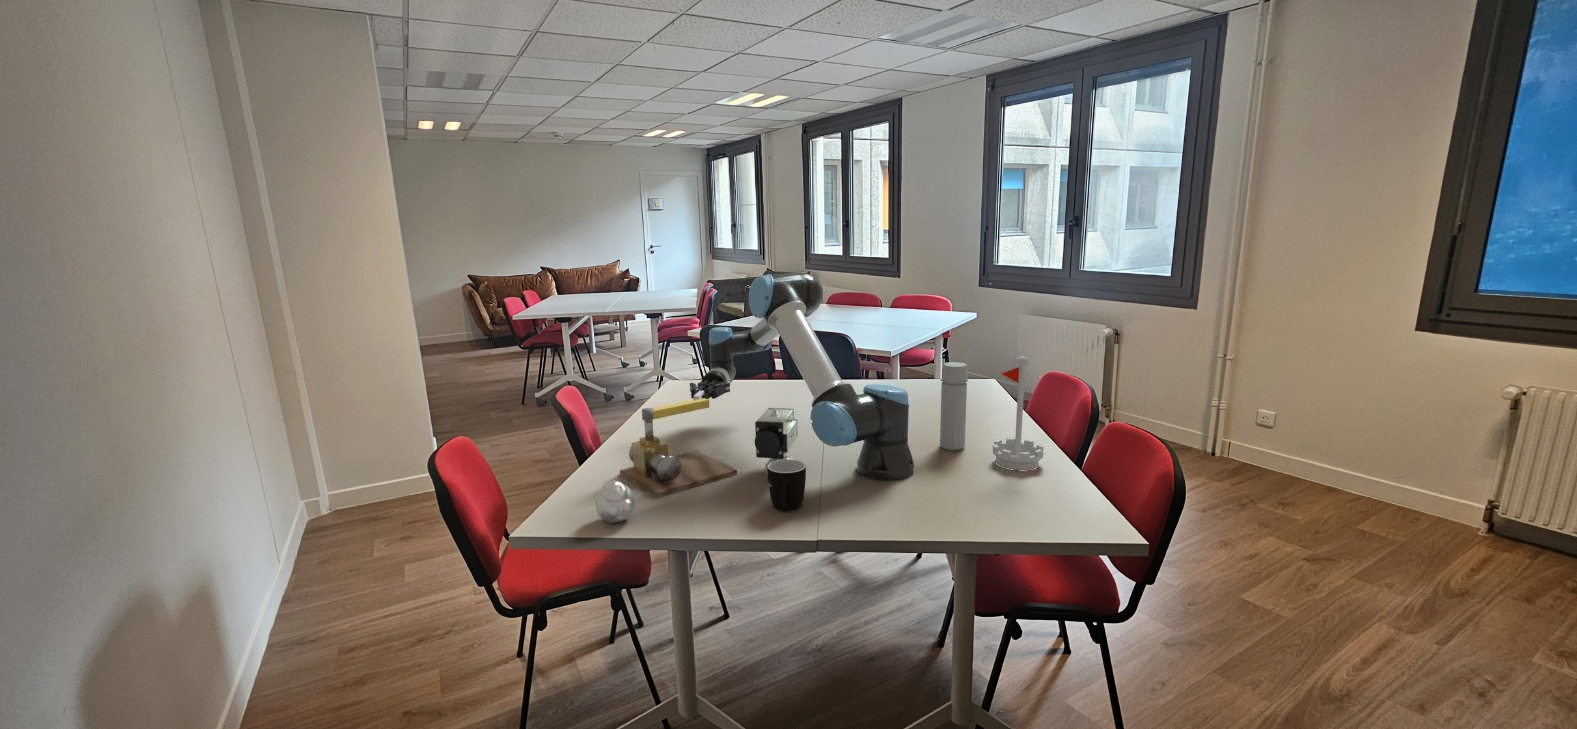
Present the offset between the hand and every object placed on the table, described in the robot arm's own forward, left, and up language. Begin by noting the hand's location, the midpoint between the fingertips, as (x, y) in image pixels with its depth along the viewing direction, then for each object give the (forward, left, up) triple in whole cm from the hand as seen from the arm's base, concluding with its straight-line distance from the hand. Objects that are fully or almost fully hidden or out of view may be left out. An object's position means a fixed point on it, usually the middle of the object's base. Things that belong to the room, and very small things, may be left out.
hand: (696, 400), depth 187 cm
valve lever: (-6, +8, -1) cm, 10 cm away
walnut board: (-10, +9, -17) cm, 22 cm away
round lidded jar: (-32, +30, -17) cm, 47 cm away
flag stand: (-47, -75, -17) cm, 90 cm away
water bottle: (-27, -69, -17) cm, 76 cm away
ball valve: (-22, -15, -17) cm, 32 cm away
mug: (-44, -7, -17) cm, 47 cm away
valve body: (-10, +15, -16) cm, 24 cm away
